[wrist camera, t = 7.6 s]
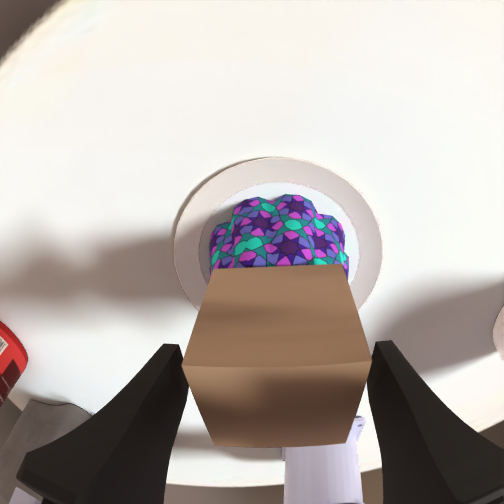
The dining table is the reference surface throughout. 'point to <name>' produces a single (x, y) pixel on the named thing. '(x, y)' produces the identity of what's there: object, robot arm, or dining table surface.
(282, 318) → the walnut block
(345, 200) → the pudding
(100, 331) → the dining table surface
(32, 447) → the flask
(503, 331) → the candle holder
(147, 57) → the dining table surface
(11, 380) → the canned food
